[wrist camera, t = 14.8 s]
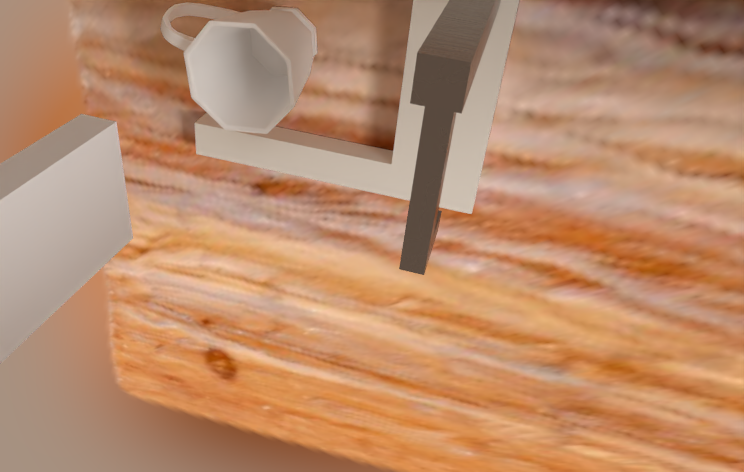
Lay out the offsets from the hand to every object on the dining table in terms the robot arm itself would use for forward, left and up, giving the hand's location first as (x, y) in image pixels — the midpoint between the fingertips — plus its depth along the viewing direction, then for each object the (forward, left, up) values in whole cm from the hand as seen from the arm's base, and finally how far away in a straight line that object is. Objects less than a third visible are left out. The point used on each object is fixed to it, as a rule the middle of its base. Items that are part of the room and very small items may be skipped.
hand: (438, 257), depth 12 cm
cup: (+8, -16, -32) cm, 36 cm away
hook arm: (+7, -2, -30) cm, 30 cm away
